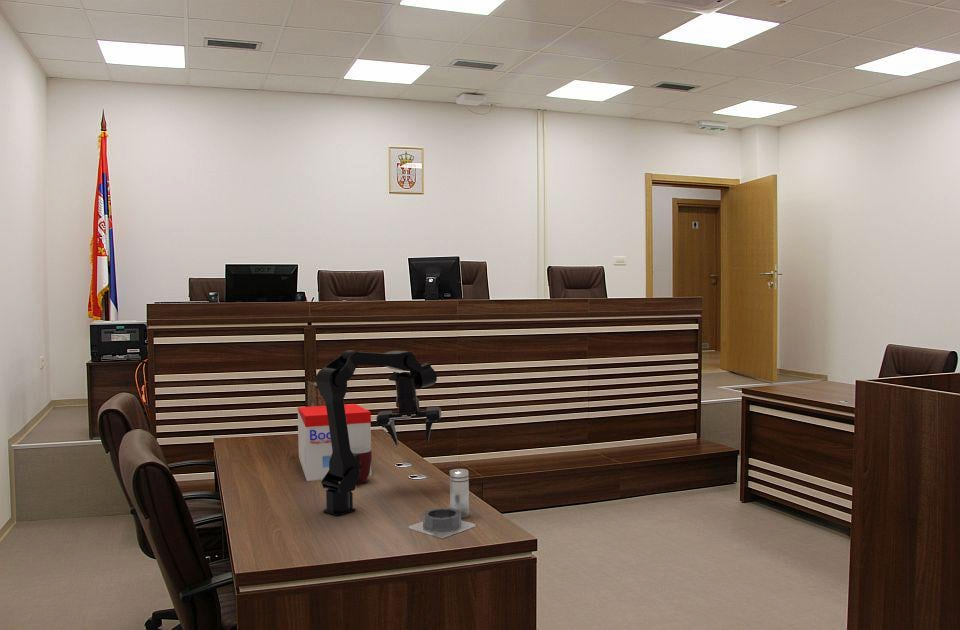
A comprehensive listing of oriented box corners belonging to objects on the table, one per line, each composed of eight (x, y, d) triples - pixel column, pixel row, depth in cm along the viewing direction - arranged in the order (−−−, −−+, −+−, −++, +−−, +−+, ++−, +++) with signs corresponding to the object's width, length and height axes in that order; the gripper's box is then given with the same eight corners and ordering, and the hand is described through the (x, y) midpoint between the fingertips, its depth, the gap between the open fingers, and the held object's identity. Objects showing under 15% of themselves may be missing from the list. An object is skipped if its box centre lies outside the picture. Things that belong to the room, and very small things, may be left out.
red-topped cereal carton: (306, 481, 237) (305, 416, 236) (298, 457, 271) (297, 400, 270) (372, 475, 244) (370, 412, 243) (356, 452, 277) (355, 396, 276)
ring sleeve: (441, 538, 183) (441, 524, 182) (408, 528, 191) (408, 514, 191) (475, 526, 191) (475, 512, 191) (442, 517, 200) (442, 503, 199)
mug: (374, 486, 230) (373, 454, 230) (347, 488, 228) (347, 456, 228) (370, 477, 241) (370, 447, 240) (345, 479, 239) (344, 448, 238)
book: (333, 452, 277) (331, 385, 276) (318, 454, 275) (316, 386, 274) (322, 444, 292) (321, 380, 291) (308, 445, 290) (307, 381, 289)
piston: (459, 519, 197) (459, 474, 197) (446, 515, 201) (445, 471, 200) (472, 515, 201) (472, 470, 200) (459, 511, 204) (458, 467, 204)
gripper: (440, 383, 229) (445, 432, 231) (379, 389, 230) (385, 438, 232) (436, 392, 218) (442, 444, 220) (373, 398, 219) (379, 449, 221)
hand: (412, 443), depth 224 cm, fingers open, 9 cm apart
